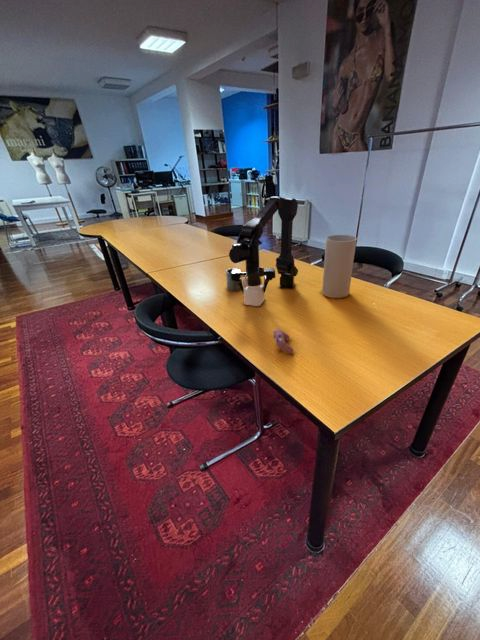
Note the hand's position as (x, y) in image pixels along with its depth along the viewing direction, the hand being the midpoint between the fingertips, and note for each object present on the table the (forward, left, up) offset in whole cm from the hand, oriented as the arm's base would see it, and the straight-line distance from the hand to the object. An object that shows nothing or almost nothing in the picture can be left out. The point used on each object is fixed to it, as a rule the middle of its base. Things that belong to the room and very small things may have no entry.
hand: (253, 293), depth 130 cm
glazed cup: (+15, -14, -5) cm, 21 cm away
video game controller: (-22, +33, -5) cm, 40 cm away
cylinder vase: (-34, -19, -5) cm, 39 cm away
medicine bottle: (0, 0, -5) cm, 5 cm away
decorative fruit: (+4, -11, -5) cm, 13 cm away
